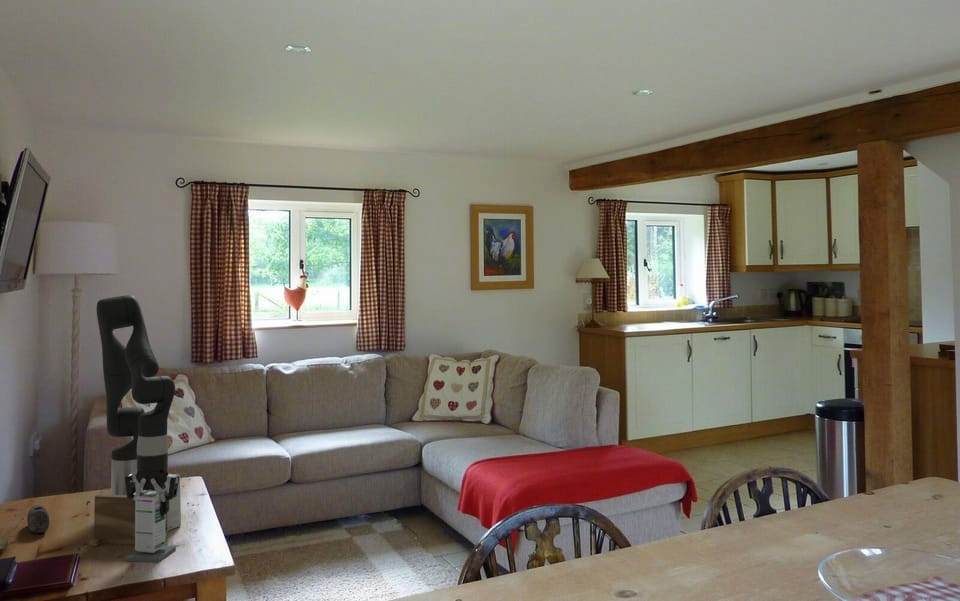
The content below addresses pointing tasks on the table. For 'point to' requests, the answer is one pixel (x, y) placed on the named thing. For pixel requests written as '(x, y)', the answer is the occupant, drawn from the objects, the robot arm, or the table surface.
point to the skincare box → (173, 508)
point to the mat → (151, 555)
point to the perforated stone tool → (38, 519)
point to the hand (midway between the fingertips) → (151, 514)
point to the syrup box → (149, 523)
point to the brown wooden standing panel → (114, 520)
